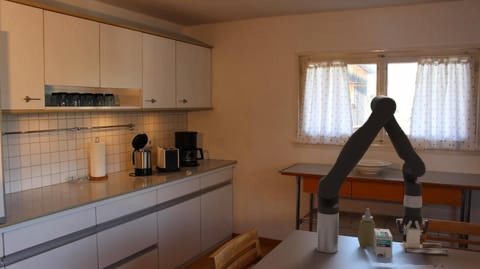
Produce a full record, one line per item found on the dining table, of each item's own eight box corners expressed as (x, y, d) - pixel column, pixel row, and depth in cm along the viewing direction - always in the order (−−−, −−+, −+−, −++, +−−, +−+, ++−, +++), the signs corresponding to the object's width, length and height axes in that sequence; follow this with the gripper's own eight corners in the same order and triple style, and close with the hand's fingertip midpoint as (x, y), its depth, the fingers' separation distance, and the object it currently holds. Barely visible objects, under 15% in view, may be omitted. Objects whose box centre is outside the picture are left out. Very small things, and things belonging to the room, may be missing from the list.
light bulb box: (392, 261, 181) (393, 236, 180) (375, 260, 182) (376, 235, 181) (388, 252, 191) (389, 228, 190) (373, 251, 193) (373, 227, 192)
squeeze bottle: (378, 246, 199) (379, 208, 198) (373, 251, 193) (374, 211, 191) (360, 243, 204) (361, 205, 202) (355, 248, 197) (356, 209, 196)
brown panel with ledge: (405, 256, 187) (405, 248, 187) (399, 246, 199) (399, 239, 199) (447, 258, 185) (447, 250, 184) (438, 248, 197) (438, 241, 196)
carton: (407, 250, 190) (408, 230, 189) (403, 244, 198) (403, 225, 197) (419, 250, 189) (420, 230, 188) (415, 244, 197) (415, 225, 196)
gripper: (397, 206, 189) (396, 244, 191) (432, 207, 187) (431, 245, 189) (394, 202, 197) (393, 239, 198) (427, 203, 195) (426, 240, 196)
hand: (411, 242), depth 193 cm, fingers closed on carton, 5 cm apart
